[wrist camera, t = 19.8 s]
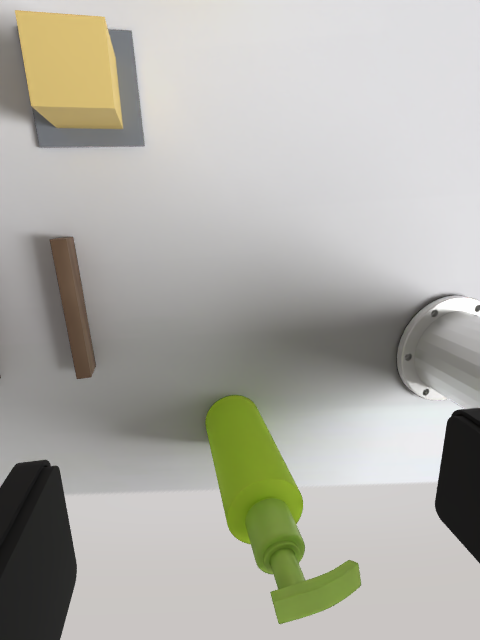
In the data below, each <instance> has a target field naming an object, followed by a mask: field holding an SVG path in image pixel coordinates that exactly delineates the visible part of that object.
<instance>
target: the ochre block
mask: <svg viewBox="0 0 480 640" xmlns="http://www.w3.org/2000/svg"><path fill="white" fill-rule="evenodd" d="M15 13H16V19H17V25H18V31H19V37H20V43H21V49H22V55H23V61H24V67H25V72H26V78H27V84H28V90H29V96H30V102H31V106H32V107H33V108H34V109H35V110H36V111H37V112H39V113H40V114H41V115H42V116H43V117H44V118H46V119H47V120H48V121H49V122H50V123H51V124H53V125H54V126H55V127H56V128H85V129H123V123H122V113H121V104H120V95H119V85H118V76H117V67H116V57H115V54H114V50H113V46H112V43H111V39H110V35H109V32H108V28H107V24H106V21H105V17H99V16H86V15H72V14H58V13H45V12H31V11H17V10H15Z"/></svg>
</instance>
